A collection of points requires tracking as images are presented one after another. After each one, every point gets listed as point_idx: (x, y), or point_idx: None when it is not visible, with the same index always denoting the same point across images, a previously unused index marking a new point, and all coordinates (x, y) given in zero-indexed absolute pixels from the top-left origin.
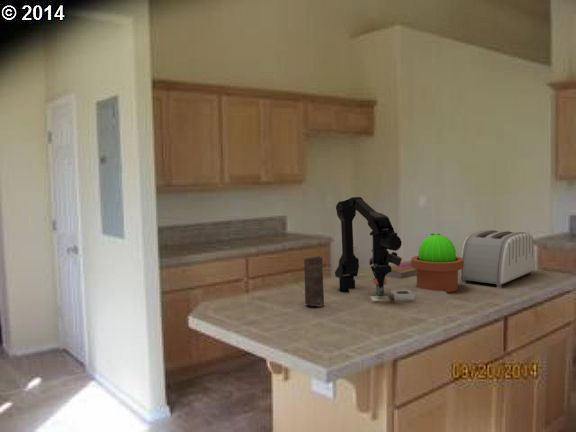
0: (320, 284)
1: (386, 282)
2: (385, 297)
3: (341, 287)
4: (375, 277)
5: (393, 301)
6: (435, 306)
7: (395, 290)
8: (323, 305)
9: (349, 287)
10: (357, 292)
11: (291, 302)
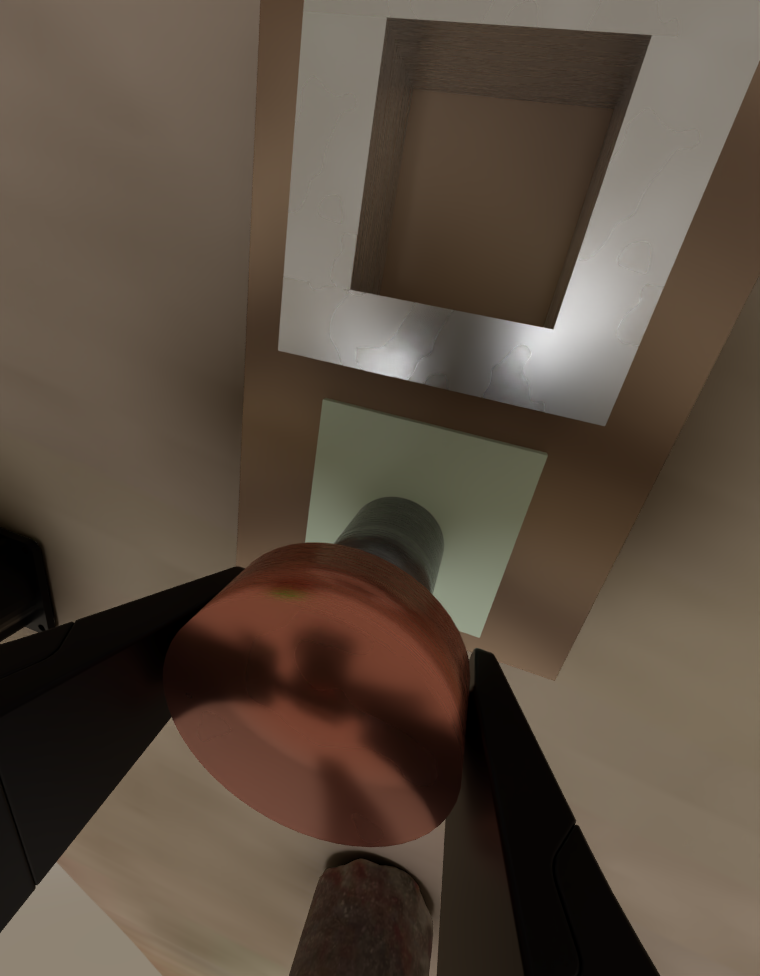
0: None
1: (391, 580)
2: (385, 452)
3: (5, 629)
4: (159, 730)
5: (590, 424)
6: None
7: (296, 273)
8: (405, 879)
9: (3, 587)
10: (54, 526)
11: (278, 914)
